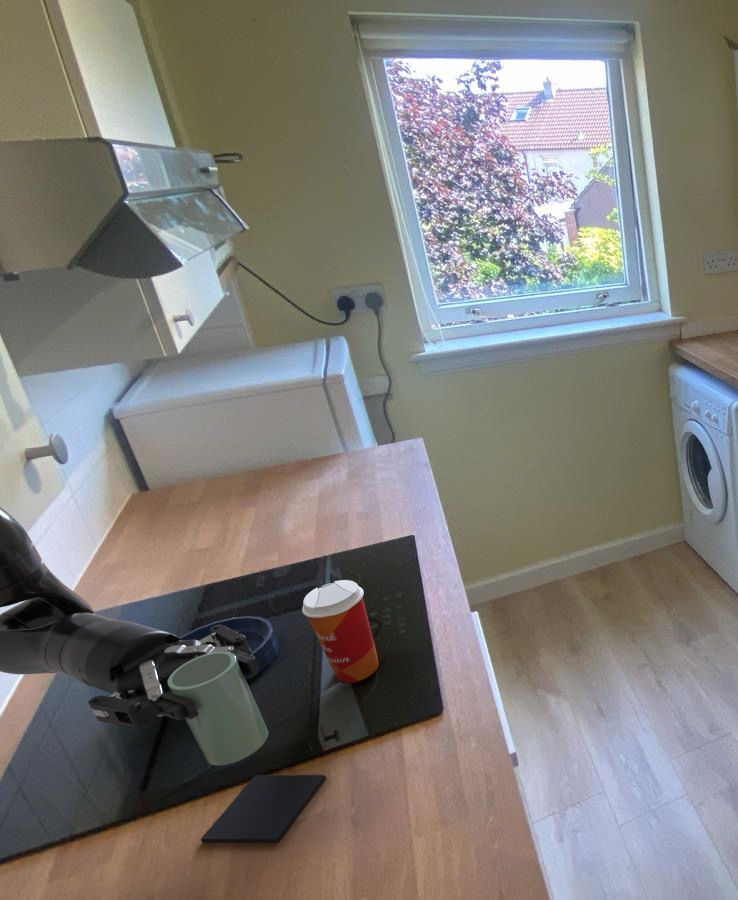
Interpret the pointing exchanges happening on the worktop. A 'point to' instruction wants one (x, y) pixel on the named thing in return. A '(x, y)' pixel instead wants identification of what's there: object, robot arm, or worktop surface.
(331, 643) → the paper cup
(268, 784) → the mat
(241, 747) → the cup
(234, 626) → the bowl
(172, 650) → the robot arm
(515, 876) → the worktop surface
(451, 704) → the worktop surface
